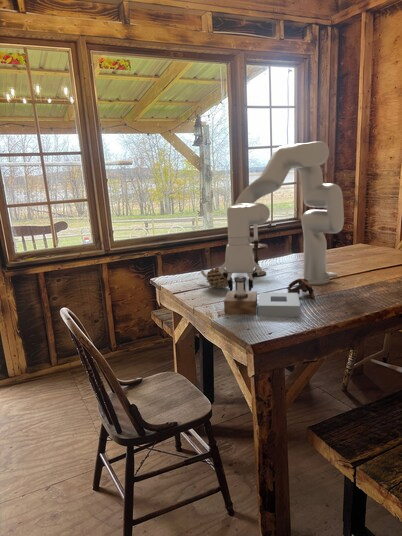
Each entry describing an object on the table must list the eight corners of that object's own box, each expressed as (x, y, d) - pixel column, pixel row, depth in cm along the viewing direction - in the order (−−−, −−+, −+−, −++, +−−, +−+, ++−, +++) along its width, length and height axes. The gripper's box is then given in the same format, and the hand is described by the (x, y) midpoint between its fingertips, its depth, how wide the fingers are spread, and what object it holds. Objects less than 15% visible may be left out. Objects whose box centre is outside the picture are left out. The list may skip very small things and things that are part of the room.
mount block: (257, 304, 139) (256, 291, 138) (255, 314, 129) (255, 301, 128) (228, 303, 142) (227, 291, 140) (224, 314, 131) (224, 301, 130)
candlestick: (272, 275, 177) (271, 201, 168) (252, 278, 173) (250, 203, 165) (261, 270, 187) (259, 200, 178) (241, 273, 183) (239, 202, 175)
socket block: (297, 302, 138) (297, 292, 137) (300, 316, 125) (300, 305, 124) (259, 302, 141) (259, 292, 140) (258, 316, 127) (258, 305, 126)
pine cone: (239, 289, 159) (238, 266, 157) (222, 294, 153) (221, 271, 151) (207, 279, 176) (206, 259, 174) (191, 284, 171) (189, 263, 168)
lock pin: (247, 307, 137) (246, 276, 134) (246, 311, 133) (245, 279, 130) (236, 307, 138) (235, 276, 135) (235, 311, 134) (233, 279, 131)
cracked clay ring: (315, 302, 138) (304, 285, 137) (293, 310, 144) (282, 293, 142) (318, 286, 148) (308, 269, 146) (297, 293, 153) (287, 278, 152)
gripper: (264, 238, 131) (265, 286, 135) (216, 239, 134) (218, 286, 139) (263, 242, 124) (264, 293, 128) (213, 243, 127) (215, 293, 132)
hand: (240, 289), depth 133 cm, fingers open, 6 cm apart
